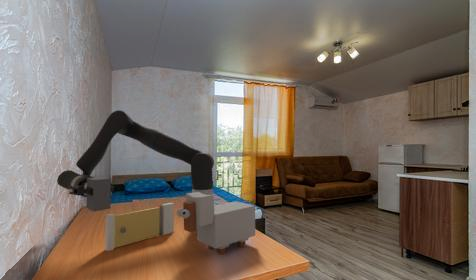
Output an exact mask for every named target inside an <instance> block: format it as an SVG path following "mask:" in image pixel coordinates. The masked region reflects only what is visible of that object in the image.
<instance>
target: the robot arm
mask: <svg viewBox="0 0 476 280" xmlns="http://www.w3.org/2000/svg"><path fill="white" fill-rule="evenodd" d="M117 134H119V135H122V136H124V137H128V138H131V139H133V140H136V141H137V142H139V143H140V144H141V145H144V146H146V147H148V148H149V149H150V150H152V151H155V152H157V153H159V154H161V155H164V156H166V157H169V158H173V159H175V160H179V161H182V162H184V163H186V164H188V165H190V181H191V189H192V190H191V193H194V192H200V193H202V194H205V195H213V196H214V181H213V168H214V166H215V162H214V161H215V160H214V157H213V156H212V155H211V154H210V153H207V152H205V151H202V150H198V149H195V148H194V147H191V146H189V145H187V144H186V143H184V142H182V141H181V140H180V139H177V138H175V137H174V136H172V135H170V134H168V133H165V132H164V131H161V130H158V129H154V128H149V127H146V126H144V125H141V124H140V123H138V122H137V121H135V119H132V118H131V116H130V115H129V114H128V113H126V112H125V111H124V110H118V109H117V110H115V111H113V112H111V113H110V114H109V115H108V117H107V118H106V120H105V122H104V124H103V126H102V127H101V129H100V130H99V132H98V133H97V136H96V137H95V139H93V141H92V142H91V144H90V146H89V147H88V148H87V149H86V150H85V152H84V153H83V154H82V155H81V157H80V158H78V160H77V161H76V167H77V168H78V169H79V170H81V171H82V174H80V173H77V172H75V171H73V170H70V169H67V170H64V171H62V172H60V173H59V175H58V177H57V178H58V179H57V178H56V184H57V185H58V186H60V187H62V188H63V189H66V190H68V194H69V195H73V196H77V197H78V196H81V197H83V198H87V195H90V196H92V195H93V188H90V187H89V188H88V187H87V178H95V177H96V176H92V175H91V174H92V173H93V171H94V170H95V168H96V167H97V166H98V165H99V163H101V160H102V159H103V158H104V156H105V155H106V152H107V149H108V147H109V145H110V143H111V142H112V141H111V140H112V139H113V138H114V137H115V136H116V135H117ZM114 187H115V184H114V183H113V182H112V181H111V194H112V192H114V190H115V189H114ZM196 231H197V226H196Z"/></svg>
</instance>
